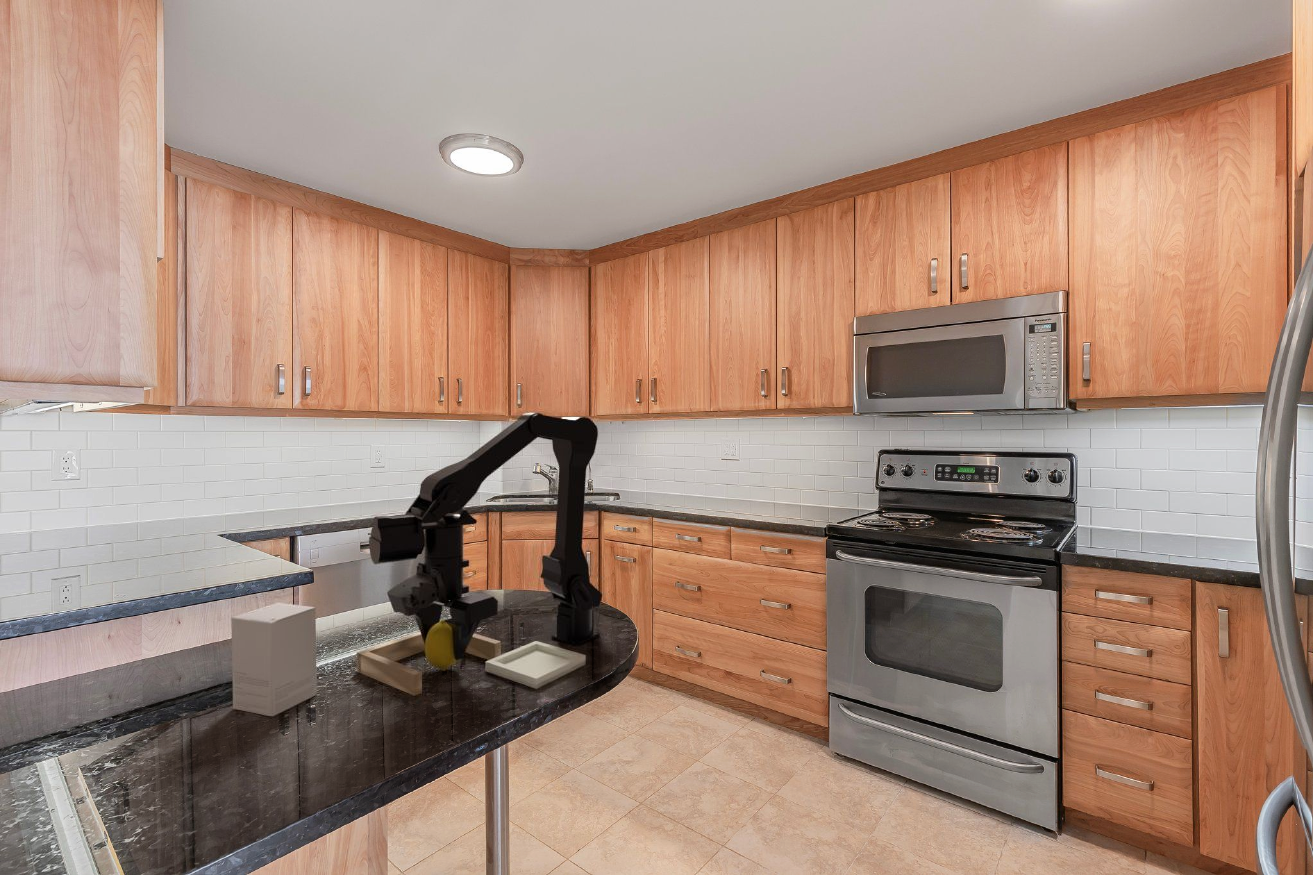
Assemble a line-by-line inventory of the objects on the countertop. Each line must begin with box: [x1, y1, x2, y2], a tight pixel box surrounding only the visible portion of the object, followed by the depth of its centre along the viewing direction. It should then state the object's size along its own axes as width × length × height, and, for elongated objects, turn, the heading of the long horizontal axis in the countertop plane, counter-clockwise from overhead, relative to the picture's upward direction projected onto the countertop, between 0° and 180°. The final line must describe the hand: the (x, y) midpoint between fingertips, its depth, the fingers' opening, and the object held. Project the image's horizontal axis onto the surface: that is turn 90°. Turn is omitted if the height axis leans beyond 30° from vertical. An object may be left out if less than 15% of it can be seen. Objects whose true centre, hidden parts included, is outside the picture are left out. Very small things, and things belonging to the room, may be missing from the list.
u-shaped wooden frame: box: [356, 631, 502, 697], centre depth 98 cm, size 16×15×3 cm
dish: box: [484, 640, 586, 690], centre depth 98 cm, size 11×11×2 cm
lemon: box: [424, 619, 458, 672], centre depth 96 cm, size 6×6×8 cm
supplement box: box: [230, 602, 318, 717], centre depth 85 cm, size 7×7×13 cm
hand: (444, 654), depth 96 cm, fingers open, 7 cm apart
